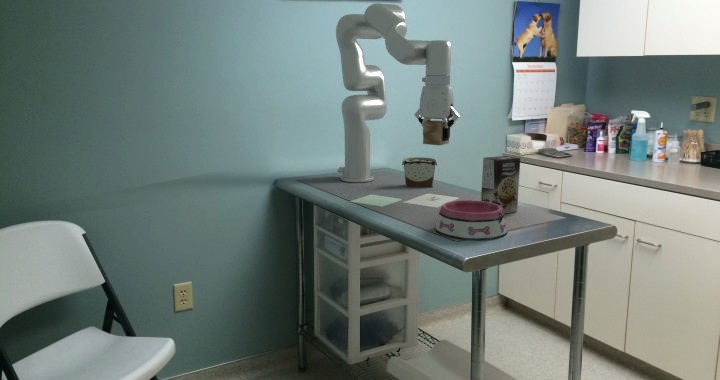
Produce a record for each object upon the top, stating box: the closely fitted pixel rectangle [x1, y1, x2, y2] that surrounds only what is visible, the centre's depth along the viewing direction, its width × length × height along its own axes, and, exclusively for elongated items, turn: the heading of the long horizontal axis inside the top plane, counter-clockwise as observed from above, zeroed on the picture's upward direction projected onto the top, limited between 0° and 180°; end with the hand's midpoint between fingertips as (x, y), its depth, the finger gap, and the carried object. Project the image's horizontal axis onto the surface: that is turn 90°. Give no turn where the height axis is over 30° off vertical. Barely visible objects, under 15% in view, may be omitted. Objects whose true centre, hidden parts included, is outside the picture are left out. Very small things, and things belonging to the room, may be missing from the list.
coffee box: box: [480, 155, 521, 215], centre depth 171 cm, size 9×6×16 cm
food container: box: [401, 156, 438, 188], centre depth 209 cm, size 12×6×10 cm, turn 84°
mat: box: [349, 194, 403, 208], centre depth 186 cm, size 12×12×1 cm
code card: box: [402, 192, 460, 209], centre depth 187 cm, size 12×16×1 cm
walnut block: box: [422, 119, 450, 146], centre depth 184 cm, size 6×6×7 cm
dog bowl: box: [434, 199, 508, 242], centre depth 153 cm, size 18×19×7 cm
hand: (436, 139), depth 185 cm, fingers closed on walnut block, 6 cm apart
